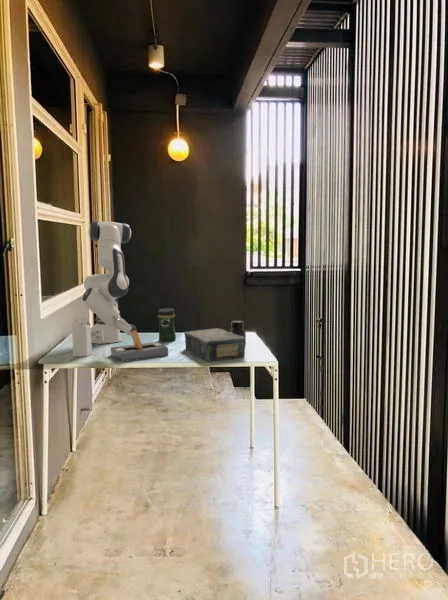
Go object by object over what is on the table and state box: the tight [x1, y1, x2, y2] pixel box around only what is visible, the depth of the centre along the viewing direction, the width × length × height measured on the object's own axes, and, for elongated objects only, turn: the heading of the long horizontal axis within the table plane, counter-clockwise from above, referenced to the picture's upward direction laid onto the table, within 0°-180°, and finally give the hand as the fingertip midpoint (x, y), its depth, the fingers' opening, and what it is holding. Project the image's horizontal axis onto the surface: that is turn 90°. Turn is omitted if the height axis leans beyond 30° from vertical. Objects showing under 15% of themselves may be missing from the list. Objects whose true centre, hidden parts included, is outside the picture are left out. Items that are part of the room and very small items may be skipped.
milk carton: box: [71, 317, 93, 357], centre depth 239 cm, size 7×7×19 cm
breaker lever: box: [128, 323, 143, 349], centre depth 235 cm, size 3×6×12 cm, turn 30°
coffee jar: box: [157, 308, 177, 342], centre depth 274 cm, size 10×8×19 cm
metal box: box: [184, 327, 246, 363], centre depth 240 cm, size 21×32×10 cm, turn 24°
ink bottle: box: [229, 320, 247, 343], centre depth 264 cm, size 10×9×12 cm
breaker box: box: [110, 341, 169, 362], centre depth 237 cm, size 24×16×4 cm, turn 121°
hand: (130, 334), depth 234 cm, fingers closed, pressing on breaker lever
